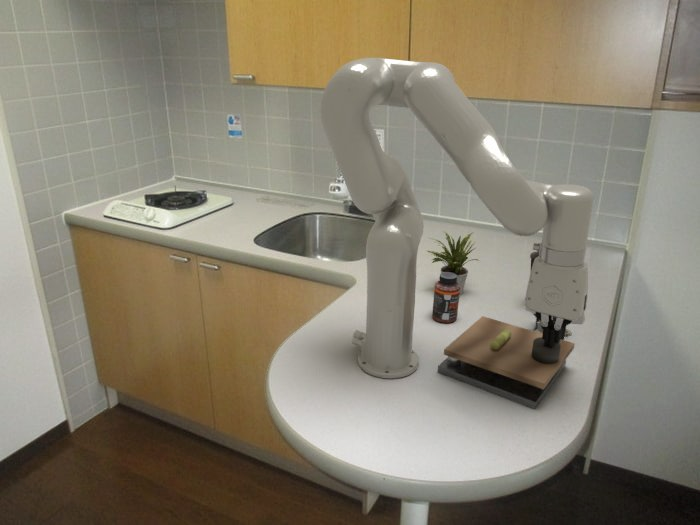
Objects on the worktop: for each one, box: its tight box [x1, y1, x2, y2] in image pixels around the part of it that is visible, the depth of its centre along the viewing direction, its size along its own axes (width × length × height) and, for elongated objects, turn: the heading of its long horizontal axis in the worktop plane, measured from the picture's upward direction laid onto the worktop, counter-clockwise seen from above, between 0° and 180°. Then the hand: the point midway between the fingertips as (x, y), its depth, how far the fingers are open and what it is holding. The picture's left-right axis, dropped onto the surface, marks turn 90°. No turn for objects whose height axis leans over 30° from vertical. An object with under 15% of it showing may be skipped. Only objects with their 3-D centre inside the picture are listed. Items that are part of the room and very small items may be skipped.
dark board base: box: [437, 356, 567, 410], centre depth 117 cm, size 20×18×4 cm
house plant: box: [427, 230, 481, 296], centre depth 150 cm, size 14×14×16 cm
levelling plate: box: [443, 315, 575, 389], centre depth 114 cm, size 20×18×4 cm
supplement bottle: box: [432, 272, 460, 324], centre depth 136 cm, size 6×6×11 cm
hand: (550, 344), depth 110 cm, fingers closed
